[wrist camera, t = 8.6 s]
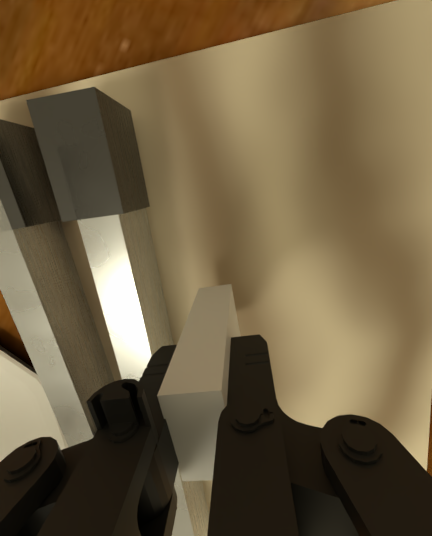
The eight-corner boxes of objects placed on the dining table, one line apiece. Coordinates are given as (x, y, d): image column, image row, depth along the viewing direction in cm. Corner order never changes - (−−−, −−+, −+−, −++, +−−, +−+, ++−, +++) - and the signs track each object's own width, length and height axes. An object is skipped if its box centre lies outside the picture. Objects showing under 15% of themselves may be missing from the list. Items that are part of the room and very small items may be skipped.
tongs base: (157, 582, 22) (137, 674, 18) (-12, 142, 13) (-134, 123, 9) (221, 582, 22) (217, 679, 17) (95, 118, 12) (17, 83, 8)
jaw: (184, 539, 20) (174, 600, 17) (77, 120, 12) (26, 100, 9) (216, 540, 19) (213, 602, 17) (130, 110, 11) (94, 86, 9)
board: (162, 569, 24) (158, 589, 23) (-4, 114, 13) (-27, 107, 12) (409, 571, 21) (418, 593, 20) (434, 5, 11) (457, -16, 10)
